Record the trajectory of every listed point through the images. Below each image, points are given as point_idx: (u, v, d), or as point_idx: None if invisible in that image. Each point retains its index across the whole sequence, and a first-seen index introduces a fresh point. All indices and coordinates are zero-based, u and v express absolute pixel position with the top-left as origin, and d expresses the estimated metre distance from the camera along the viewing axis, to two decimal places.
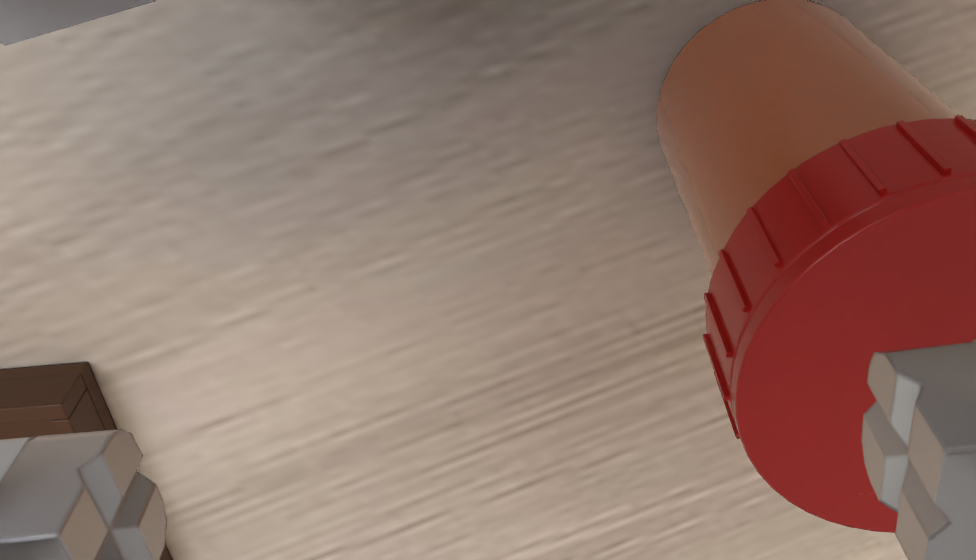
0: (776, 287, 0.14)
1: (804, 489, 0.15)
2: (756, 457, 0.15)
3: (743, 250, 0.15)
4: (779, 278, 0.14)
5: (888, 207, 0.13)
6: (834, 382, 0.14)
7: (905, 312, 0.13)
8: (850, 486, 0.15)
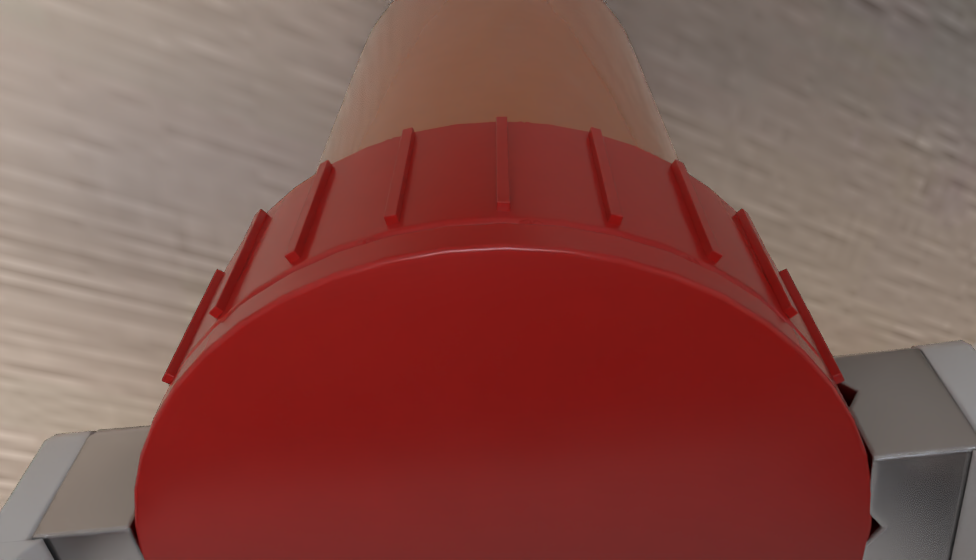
0: (360, 251, 0.07)
1: None
2: (146, 498, 0.08)
3: (357, 177, 0.08)
4: (376, 241, 0.07)
5: (610, 245, 0.07)
6: (341, 458, 0.08)
7: (514, 422, 0.08)
8: None
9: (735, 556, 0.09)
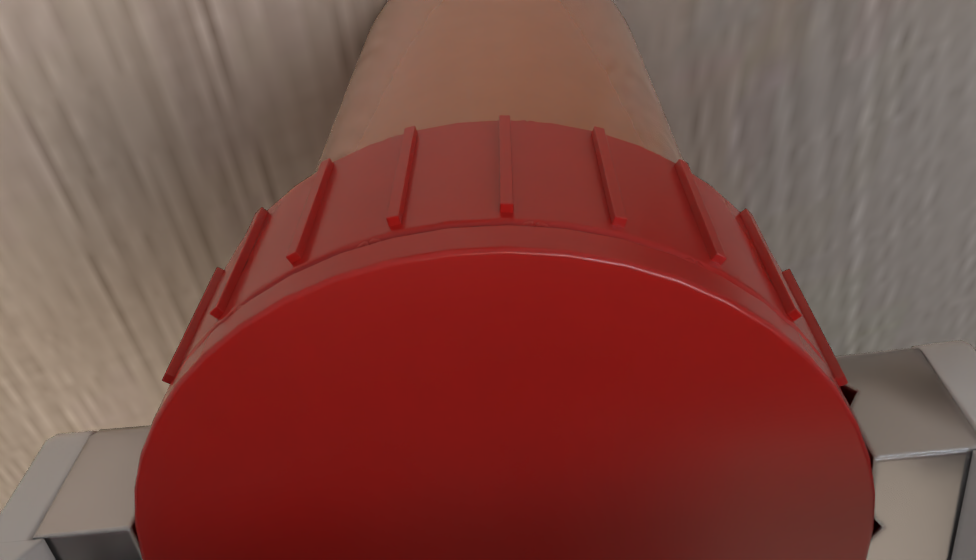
0: (362, 252, 0.07)
1: None
2: (146, 498, 0.08)
3: (359, 176, 0.08)
4: (379, 242, 0.07)
5: (614, 247, 0.07)
6: (342, 459, 0.08)
7: (515, 425, 0.08)
8: None
9: (736, 558, 0.08)
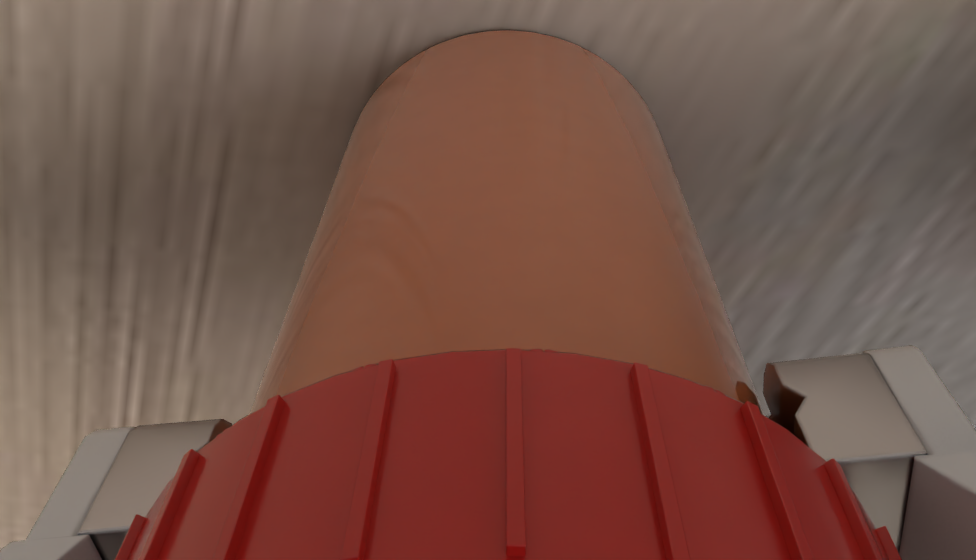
0: None
1: None
2: None
3: (313, 441, 0.06)
4: None
5: None
6: None
7: None
8: None
9: None
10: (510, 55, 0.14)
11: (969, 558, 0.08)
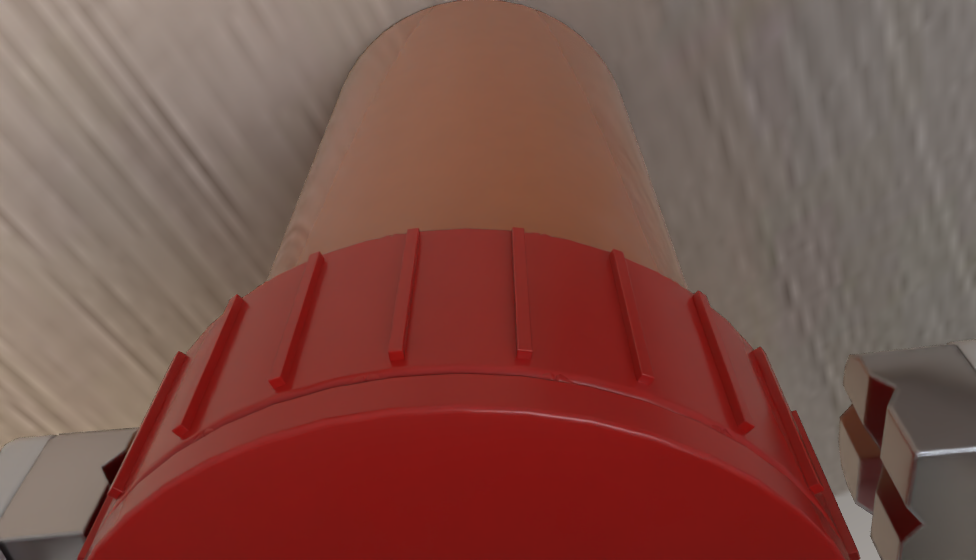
0: (93, 544, 0.07)
1: None
2: None
3: None
4: None
5: (260, 423, 0.06)
6: None
7: None
8: None
9: None
10: (363, 66, 0.16)
11: None
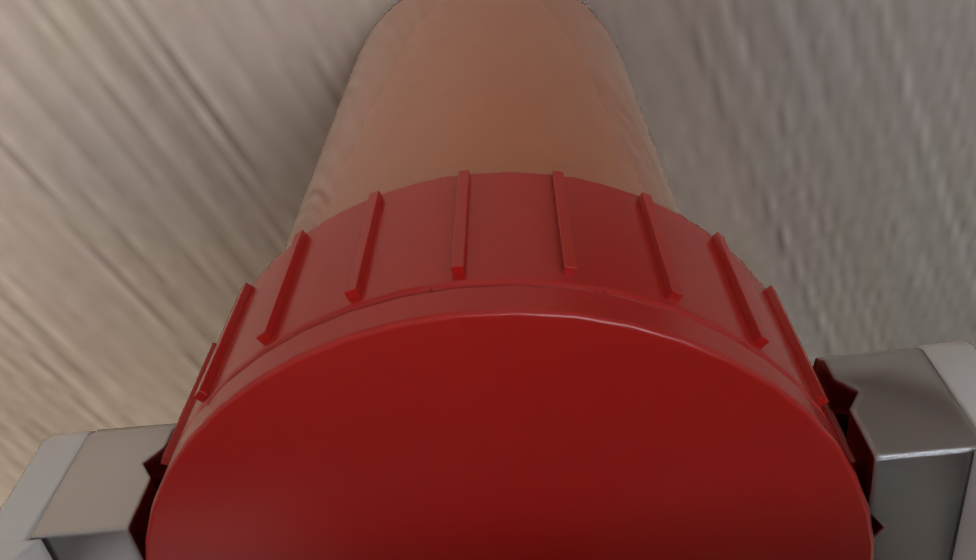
0: None
1: None
2: None
3: None
4: None
5: None
6: None
7: None
8: None
9: (543, 433, 0.07)
10: (379, 33, 0.16)
11: None
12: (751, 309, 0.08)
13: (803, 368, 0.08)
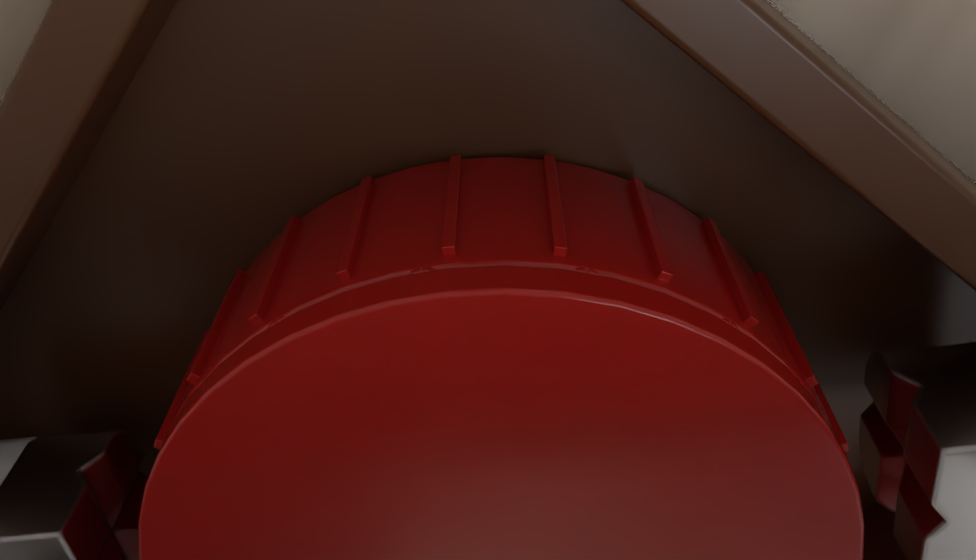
0: None
1: None
2: None
3: None
4: None
5: None
6: None
7: None
8: None
9: (534, 413, 0.07)
10: None
11: None
12: (741, 291, 0.08)
13: (793, 350, 0.08)
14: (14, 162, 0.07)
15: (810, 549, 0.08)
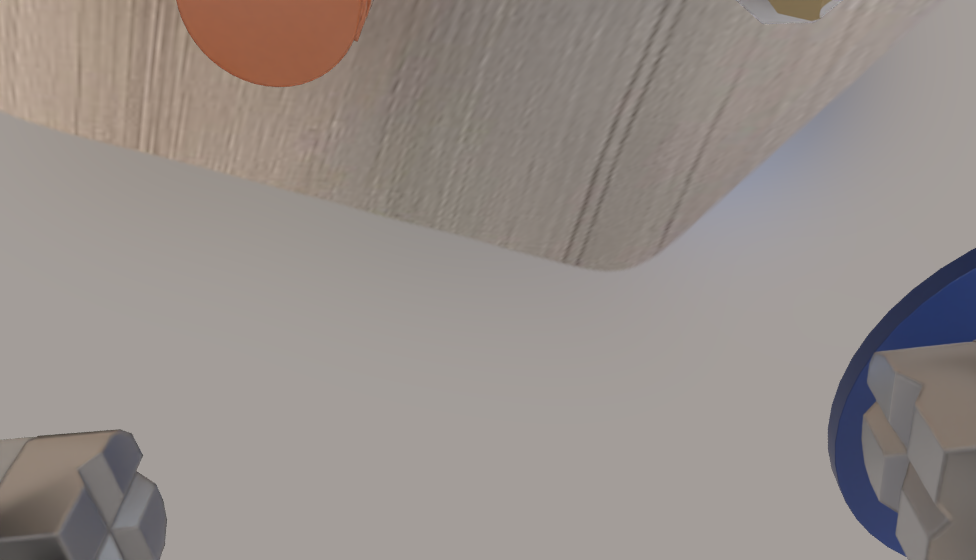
0: None
1: None
2: None
3: None
4: None
5: None
6: None
7: None
8: None
9: None
10: None
11: None
12: None
13: None
14: None
15: None
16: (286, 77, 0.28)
